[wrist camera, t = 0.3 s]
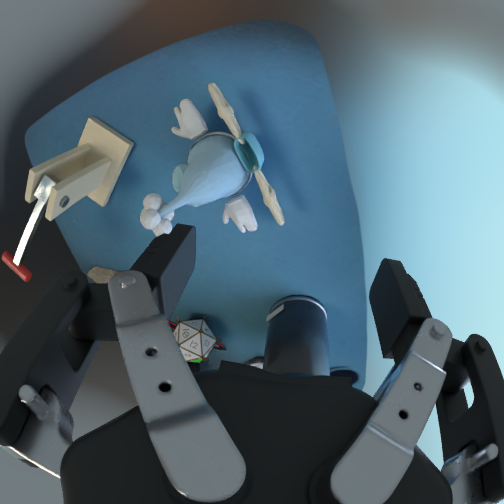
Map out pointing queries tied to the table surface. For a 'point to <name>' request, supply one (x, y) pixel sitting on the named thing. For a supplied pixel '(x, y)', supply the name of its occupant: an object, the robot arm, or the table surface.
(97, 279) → the stone
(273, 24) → the table surface
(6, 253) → the lever
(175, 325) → the red paper clip
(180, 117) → the toy figure
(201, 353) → the game die
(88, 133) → the lever stand
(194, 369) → the chess piece
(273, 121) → the table surface
